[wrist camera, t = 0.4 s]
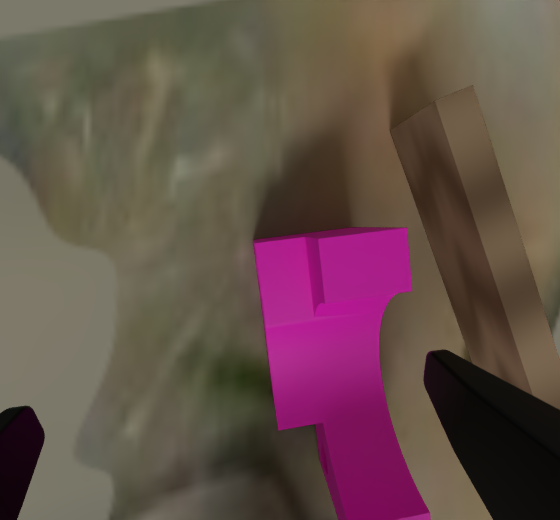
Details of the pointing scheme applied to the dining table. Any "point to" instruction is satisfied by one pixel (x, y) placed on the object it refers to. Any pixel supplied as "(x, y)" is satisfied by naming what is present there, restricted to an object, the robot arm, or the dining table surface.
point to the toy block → (339, 359)
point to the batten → (478, 243)
